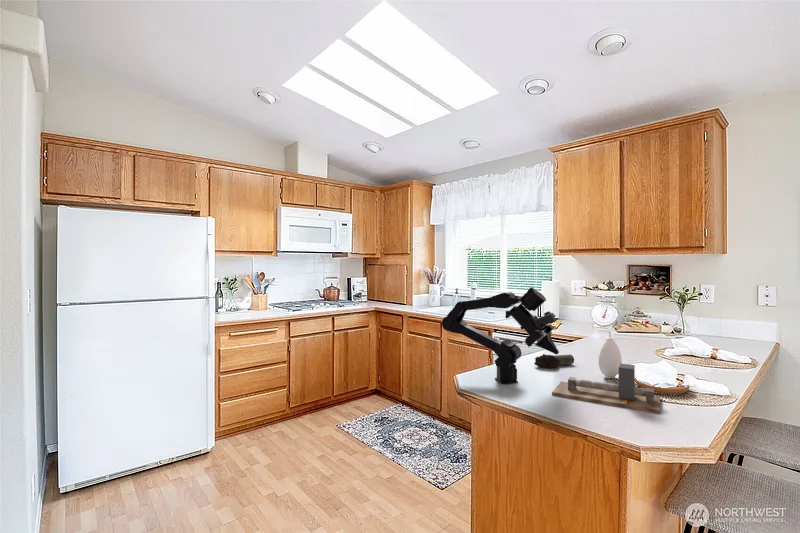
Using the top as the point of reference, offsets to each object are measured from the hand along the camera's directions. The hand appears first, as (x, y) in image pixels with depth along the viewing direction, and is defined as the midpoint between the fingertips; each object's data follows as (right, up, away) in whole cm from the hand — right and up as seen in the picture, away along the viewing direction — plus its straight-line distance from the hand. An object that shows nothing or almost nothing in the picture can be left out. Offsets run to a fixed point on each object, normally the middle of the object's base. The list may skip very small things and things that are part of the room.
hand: (557, 353), depth 137 cm
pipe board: (+12, -12, -8) cm, 19 cm away
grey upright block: (+17, -11, -12) cm, 24 cm away
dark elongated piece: (+11, -13, +31) cm, 35 cm away
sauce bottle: (+25, -12, +13) cm, 31 cm away
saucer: (+36, -13, 0) cm, 38 cm away
